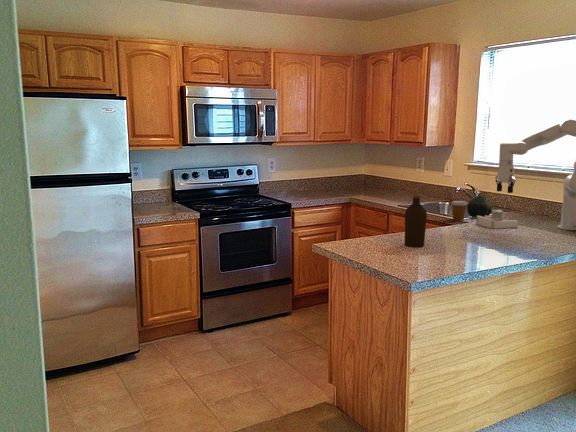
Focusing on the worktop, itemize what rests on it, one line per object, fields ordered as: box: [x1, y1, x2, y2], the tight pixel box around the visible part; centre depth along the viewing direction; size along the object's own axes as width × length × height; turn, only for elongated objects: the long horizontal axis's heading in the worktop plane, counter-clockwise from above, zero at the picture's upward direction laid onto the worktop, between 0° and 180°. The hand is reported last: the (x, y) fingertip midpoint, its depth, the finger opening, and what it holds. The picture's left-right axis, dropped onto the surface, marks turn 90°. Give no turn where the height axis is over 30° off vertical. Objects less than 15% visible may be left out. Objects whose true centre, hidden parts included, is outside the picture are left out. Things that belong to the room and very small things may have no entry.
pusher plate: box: [484, 215, 499, 221], centre depth 306 cm, size 12×2×5 cm, turn 14°
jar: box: [491, 209, 504, 221], centre depth 306 cm, size 6×6×9 cm
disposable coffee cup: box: [450, 200, 468, 222], centre depth 324 cm, size 10×10×12 cm
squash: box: [466, 194, 493, 218], centre depth 337 cm, size 14×15×15 cm
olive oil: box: [404, 194, 428, 248], centre depth 251 cm, size 11×11×25 cm
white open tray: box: [475, 216, 519, 229], centre depth 307 cm, size 15×17×5 cm
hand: (504, 192), depth 306 cm, fingers open, 9 cm apart
